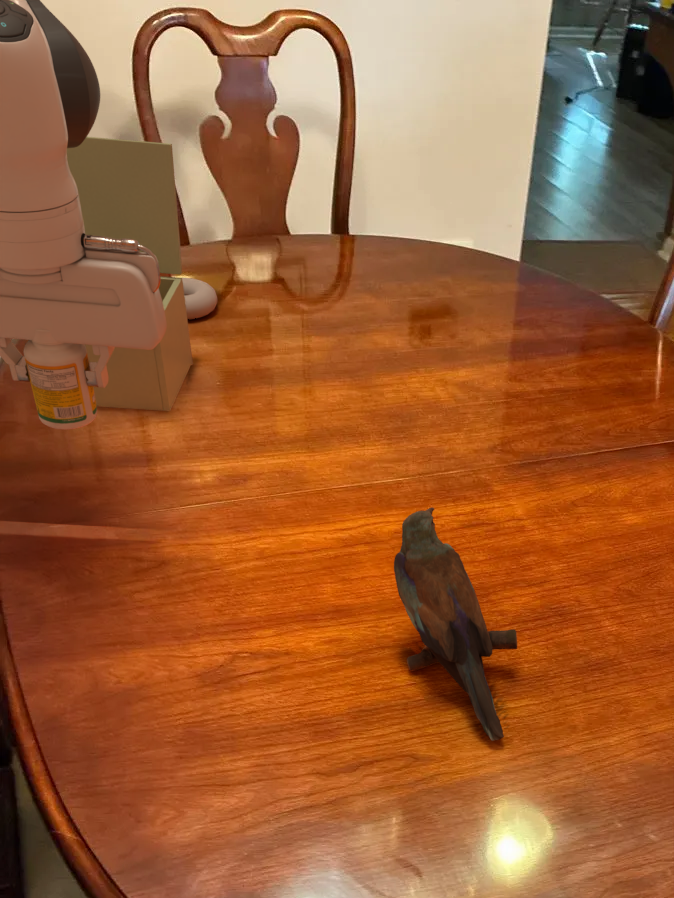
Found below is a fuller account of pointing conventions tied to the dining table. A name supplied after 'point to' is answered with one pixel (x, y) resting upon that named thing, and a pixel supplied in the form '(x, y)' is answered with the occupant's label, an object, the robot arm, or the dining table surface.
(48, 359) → the supplement bottle
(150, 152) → the lid
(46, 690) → the dining table surface
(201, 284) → the donut
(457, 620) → the bird figurine
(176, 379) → the chest
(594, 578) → the dining table surface
